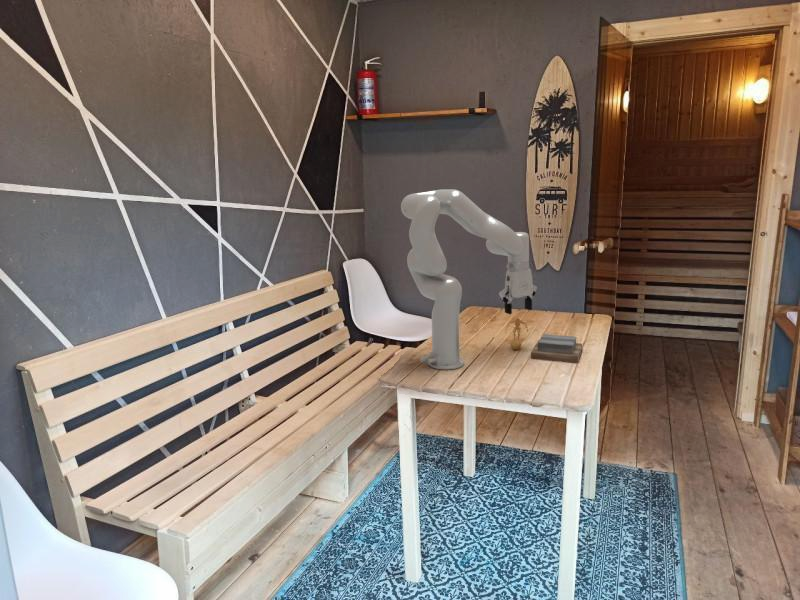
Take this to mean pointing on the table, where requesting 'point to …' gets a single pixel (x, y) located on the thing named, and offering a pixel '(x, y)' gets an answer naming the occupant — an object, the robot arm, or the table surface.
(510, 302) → the robot arm
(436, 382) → the table surface
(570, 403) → the table surface
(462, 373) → the table surface
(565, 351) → the display stand
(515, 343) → the figurine
